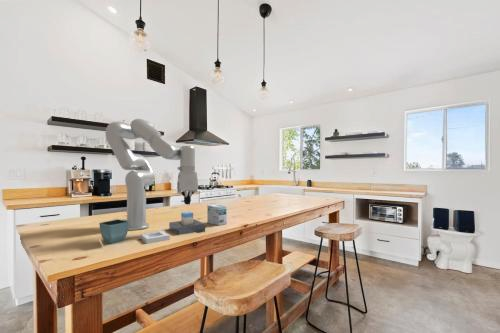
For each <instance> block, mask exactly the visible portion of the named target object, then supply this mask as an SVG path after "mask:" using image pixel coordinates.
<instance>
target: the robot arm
mask: <svg viewBox="0 0 500 333" xmlns="http://www.w3.org/2000/svg"><path fill="white" fill-rule="evenodd" d="M161 137H162V133H161V132H160V131H159V130H157V128H155V125H154V124H153V123H152V122H151V121H148V120H144V119H143V118H142V119H141V118H136V119H133V120H132V121H131V122H130V124H129V123H124V122H122V121H121V122H120V121H113V122H110V123H108V125H107V127H106V129H105V138H106V141H107V144H108V146H109V147H110V148H111V150H112V152H113V154H114V157H116V160H117V162H118V164H119V166H120V167H121V169H122V170H125V171H129V172H127V173H126V175H125V177H124V178H125V180H124V181H125V186H126V219H121V220H123V221H128V222H129V225H128V231H136V230H137V231H139V230H144V229H147V228H148V227H150V226H149V225H150V224H149V223H147V193H146V189H145V187H149V186H152V185H153V184H154V183H155V180H156V178H155V177H156V176H155V173H154V171H153V169H152V167H151V166H150V164H149V161H148V160H147V158H146V157H145V156H143V155H142V154H139V153H134V152H133V151H132V149H131V148H130V147H131V146H129V143H128V142H126V141H125V139H127V140H137V139H142V140H143V141H145V142H146V143H147V144H149V147H150V148H151V150H153V151H154V152H155V153H156V154H157V155H159V156H160V157H161V158H163V159H166V160H170V161H171V160H172V161H179V164H180V165H179V166H178V167H177V170H178V171H179V172H178V175H177V180H176V181H177V184H176V189H177V192H176V193H177V194H180V195H182V196H183V203H184V205H191V201H192V200H191V198H192V195H194V194H195V193H196V194H197V193H198V190H199V179H198V173H197V172H196V167H195V166H196V165H195V164H196V148H195V147H194V146H193V145H182V146H179V145H178V146H177V145H175V144H174V145H173V144H170V143H168V142H166V141H165V140H164V139H163V138H161Z"/></svg>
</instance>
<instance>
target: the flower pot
mask: <svg viewBox="0 0 500 333" xmlns="http://www.w3.org/2000/svg"><path fill="white" fill-rule="evenodd" d="M98 225H99V231H100V235H101V237H102V239H103V241H104V242H105V243H107V244H111V245H113V244H117V243H121V242H123V241H125V239H126V237H127V235H128V231H129V230H128V225H129V222H128V221H123V220H122V219H112V220H108V221H103V222H99V224H98Z"/></svg>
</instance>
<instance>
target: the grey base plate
mask: <svg viewBox="0 0 500 333" xmlns="http://www.w3.org/2000/svg"><path fill="white" fill-rule="evenodd" d="M170 238H171V235H170V234H169V233H167V232H165V231H164V230H158V231H151V232H145V233H144V232H143V233H140V239H141V240H142V241H143V242H144V243H145V244H148V245H149V244H152V243H158V242H159V243H160V242H165V241H169V240H170Z"/></svg>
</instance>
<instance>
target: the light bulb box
mask: <svg viewBox="0 0 500 333" xmlns="http://www.w3.org/2000/svg"><path fill="white" fill-rule="evenodd" d="M206 212H207V218H206V219H207V223H208V224H210V225H211V224H212V225H216V226H222V225H227V224H228V206H227V205H222V204H216V203H215V204H208V205H207V211H206Z"/></svg>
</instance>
